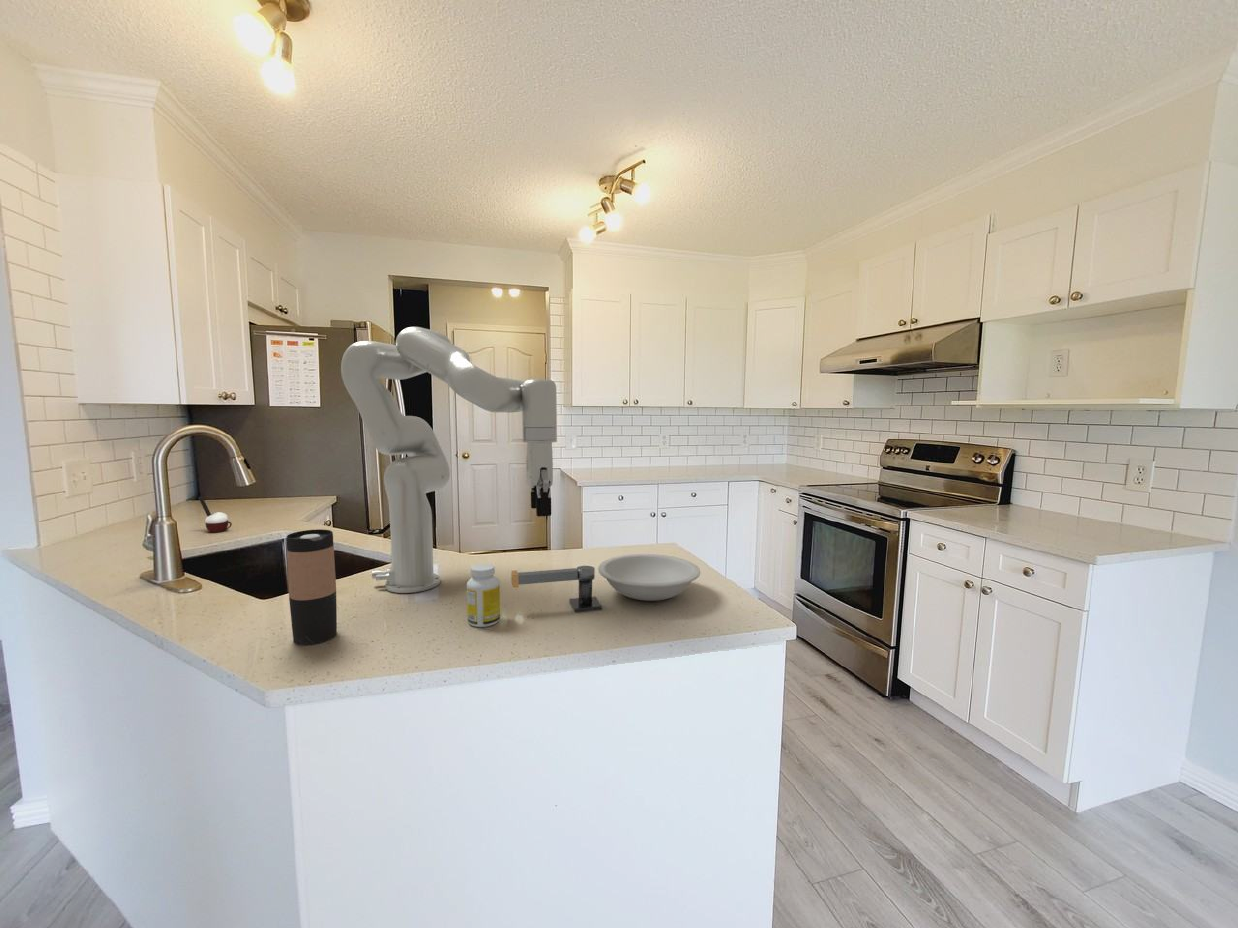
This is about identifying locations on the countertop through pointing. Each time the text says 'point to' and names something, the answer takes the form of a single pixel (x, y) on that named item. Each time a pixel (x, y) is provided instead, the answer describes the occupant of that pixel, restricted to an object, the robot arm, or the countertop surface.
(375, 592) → the countertop surface
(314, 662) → the countertop surface
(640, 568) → the round sink basin
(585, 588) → the dark grey faucet base
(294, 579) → the travel mug
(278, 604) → the countertop surface
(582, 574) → the rail
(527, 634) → the countertop surface
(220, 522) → the cocoa
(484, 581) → the pill bottle
